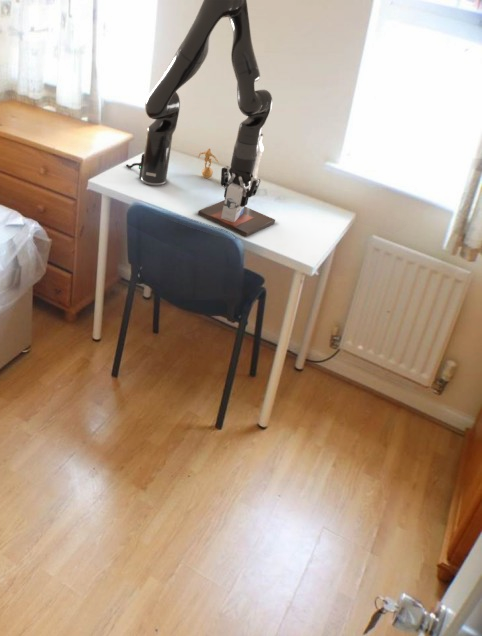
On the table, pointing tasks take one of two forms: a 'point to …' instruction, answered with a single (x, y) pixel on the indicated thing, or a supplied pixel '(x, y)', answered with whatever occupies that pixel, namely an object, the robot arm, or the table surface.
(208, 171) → the figurine
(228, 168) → the robot arm
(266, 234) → the table surface
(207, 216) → the counter board
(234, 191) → the ink box
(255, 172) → the plastic bottle
